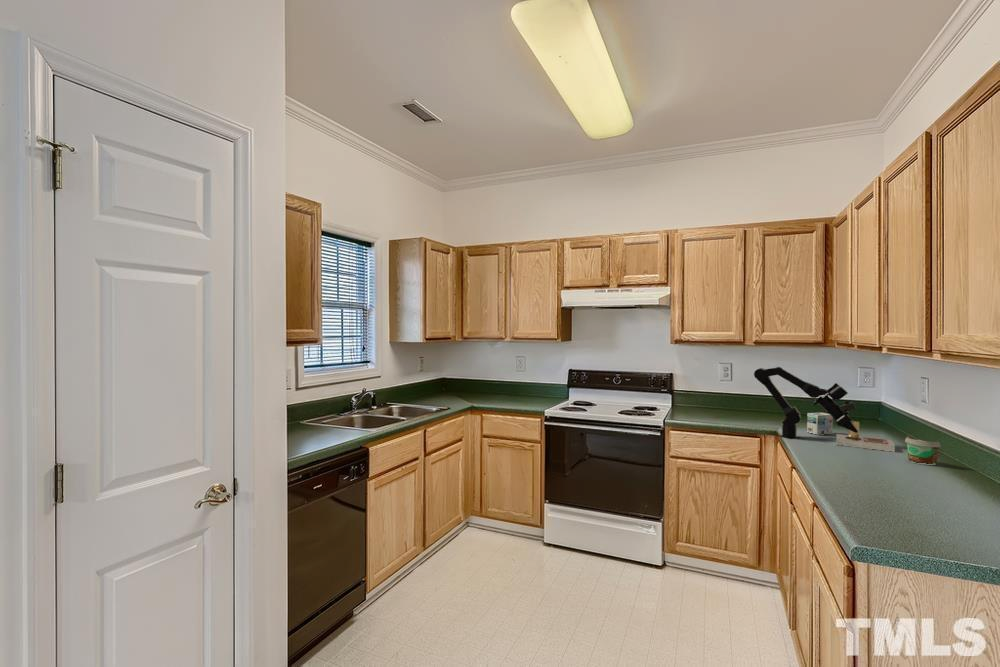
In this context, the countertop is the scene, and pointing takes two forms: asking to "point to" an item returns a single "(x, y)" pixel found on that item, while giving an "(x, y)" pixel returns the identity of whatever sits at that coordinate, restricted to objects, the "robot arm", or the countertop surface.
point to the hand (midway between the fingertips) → (857, 431)
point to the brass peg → (852, 434)
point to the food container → (922, 451)
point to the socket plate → (866, 443)
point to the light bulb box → (819, 423)
